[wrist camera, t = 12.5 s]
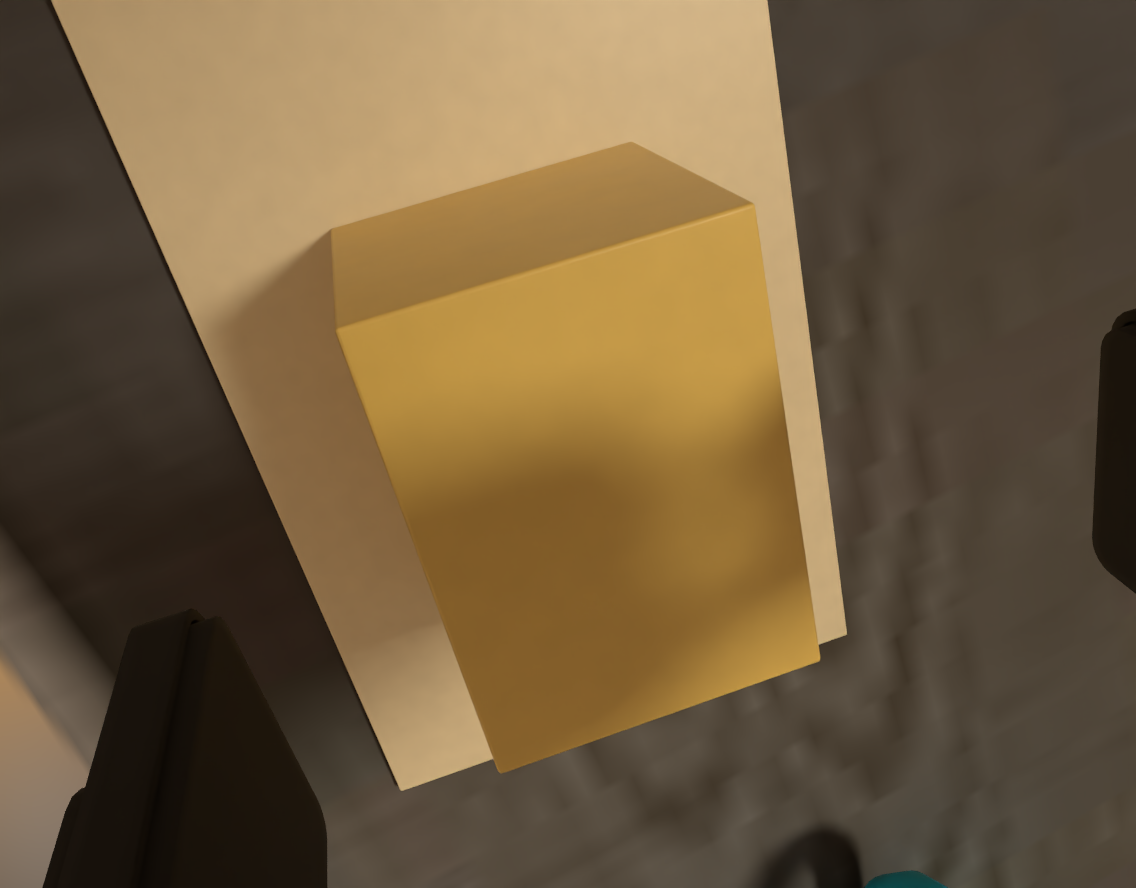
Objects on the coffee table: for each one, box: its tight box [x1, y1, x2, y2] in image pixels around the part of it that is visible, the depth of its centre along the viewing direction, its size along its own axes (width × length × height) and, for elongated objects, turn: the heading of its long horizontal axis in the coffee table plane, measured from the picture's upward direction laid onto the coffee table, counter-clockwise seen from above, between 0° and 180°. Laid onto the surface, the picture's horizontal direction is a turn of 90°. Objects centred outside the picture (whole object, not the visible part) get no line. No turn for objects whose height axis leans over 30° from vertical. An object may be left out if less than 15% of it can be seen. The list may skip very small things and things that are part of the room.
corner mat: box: [51, 0, 847, 791], centre depth 17 cm, size 16×10×1 cm, turn 14°
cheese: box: [331, 142, 820, 773], centre depth 15 cm, size 7×5×5 cm
